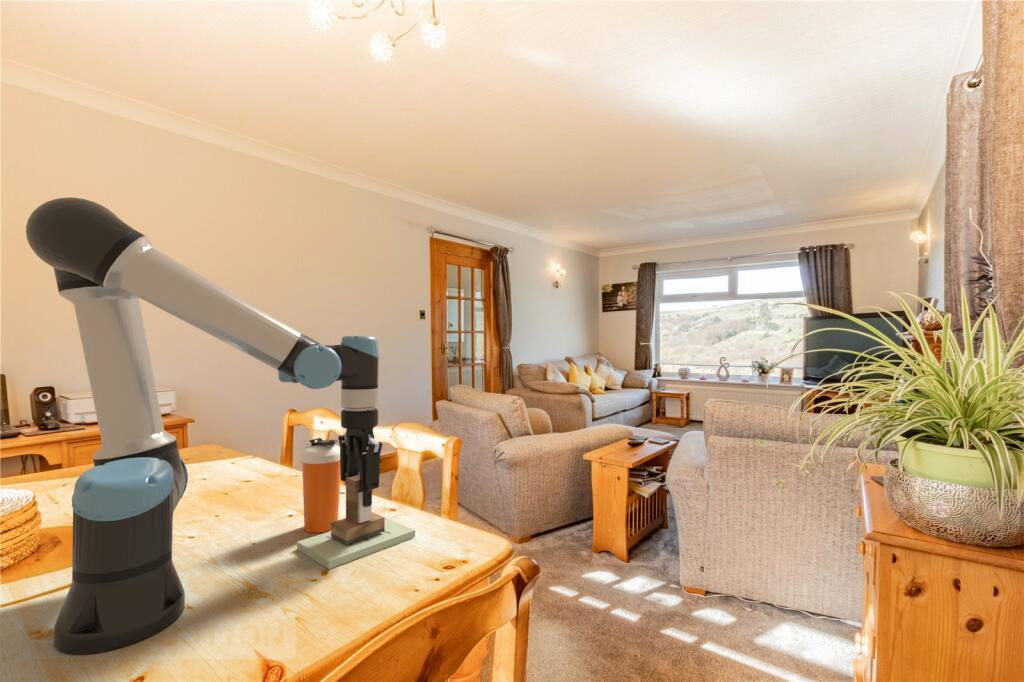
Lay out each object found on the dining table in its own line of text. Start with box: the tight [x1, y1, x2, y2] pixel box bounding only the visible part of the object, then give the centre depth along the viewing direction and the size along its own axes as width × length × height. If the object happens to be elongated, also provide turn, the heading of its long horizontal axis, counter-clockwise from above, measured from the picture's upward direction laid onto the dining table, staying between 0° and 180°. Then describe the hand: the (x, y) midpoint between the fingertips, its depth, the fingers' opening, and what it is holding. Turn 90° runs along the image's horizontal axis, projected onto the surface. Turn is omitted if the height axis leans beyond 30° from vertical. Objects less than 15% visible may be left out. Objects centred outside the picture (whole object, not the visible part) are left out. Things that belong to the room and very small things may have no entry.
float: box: [330, 475, 386, 545], centre depth 100 cm, size 9×6×12 cm, turn 140°
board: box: [296, 517, 416, 570], centre depth 100 cm, size 20×13×2 cm, turn 139°
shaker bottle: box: [300, 437, 341, 534], centre depth 109 cm, size 9×9×20 cm
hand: (359, 518), depth 100 cm, fingers closed on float, 4 cm apart
